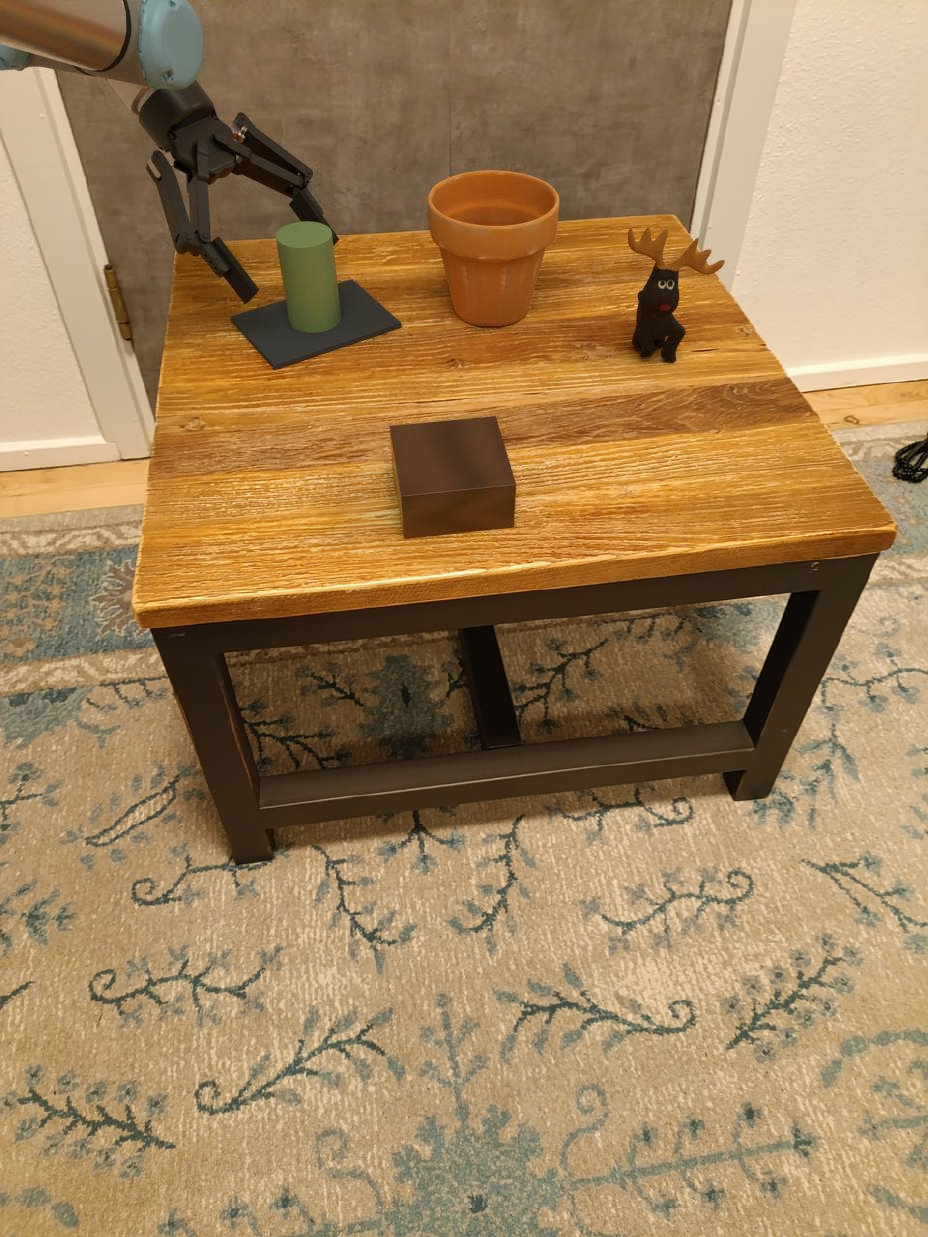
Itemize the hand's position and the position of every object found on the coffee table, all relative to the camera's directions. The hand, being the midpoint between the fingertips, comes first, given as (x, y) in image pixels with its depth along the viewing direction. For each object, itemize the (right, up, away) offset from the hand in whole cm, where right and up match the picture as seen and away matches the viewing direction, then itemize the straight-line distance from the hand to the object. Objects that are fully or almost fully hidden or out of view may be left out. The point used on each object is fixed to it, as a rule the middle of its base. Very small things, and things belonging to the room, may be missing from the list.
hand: (293, 271), depth 100 cm
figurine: (+40, -9, 0) cm, 41 cm away
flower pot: (+22, -2, +6) cm, 23 cm away
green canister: (+2, -4, +3) cm, 6 cm away
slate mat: (+2, -5, +4) cm, 6 cm away
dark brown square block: (+18, -27, -16) cm, 36 cm away
